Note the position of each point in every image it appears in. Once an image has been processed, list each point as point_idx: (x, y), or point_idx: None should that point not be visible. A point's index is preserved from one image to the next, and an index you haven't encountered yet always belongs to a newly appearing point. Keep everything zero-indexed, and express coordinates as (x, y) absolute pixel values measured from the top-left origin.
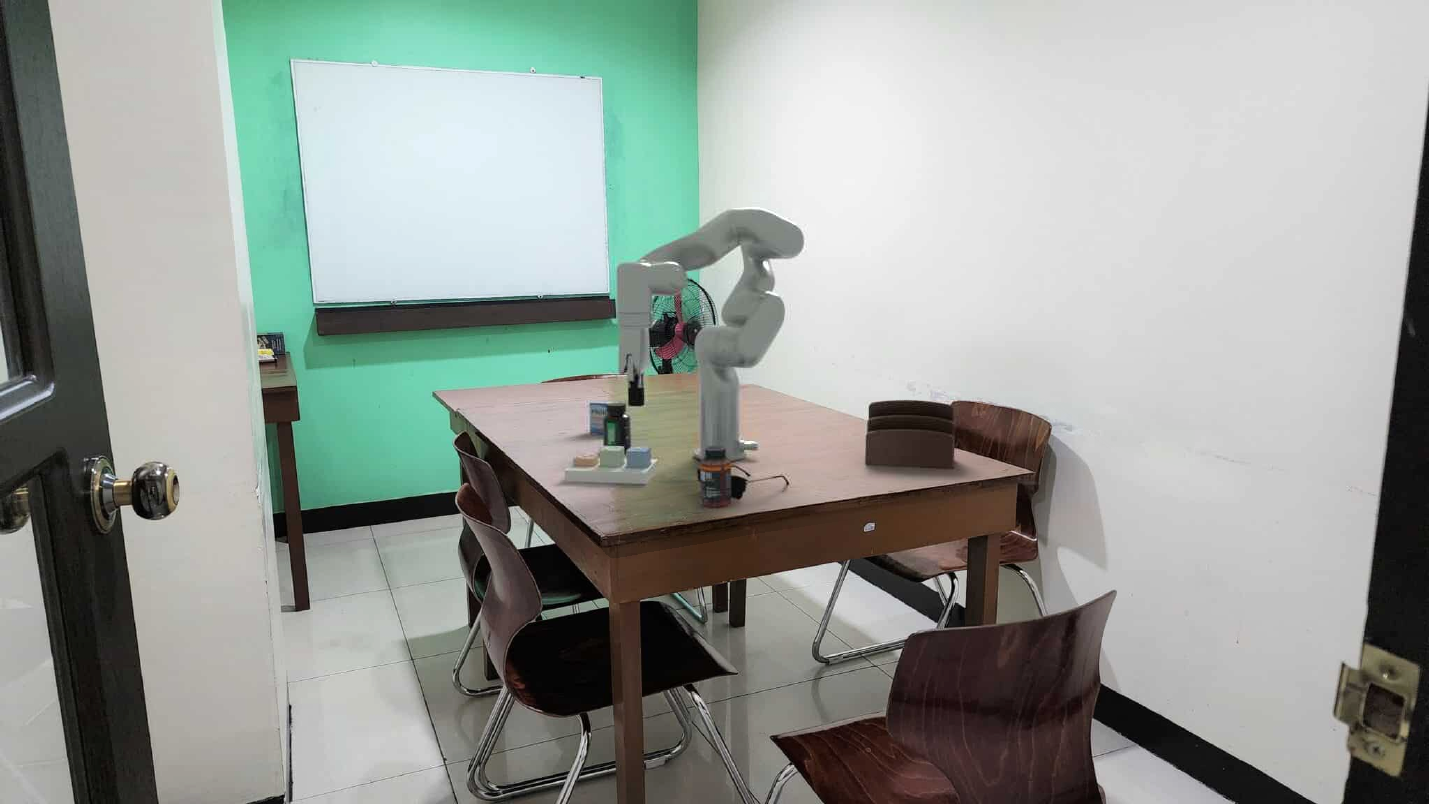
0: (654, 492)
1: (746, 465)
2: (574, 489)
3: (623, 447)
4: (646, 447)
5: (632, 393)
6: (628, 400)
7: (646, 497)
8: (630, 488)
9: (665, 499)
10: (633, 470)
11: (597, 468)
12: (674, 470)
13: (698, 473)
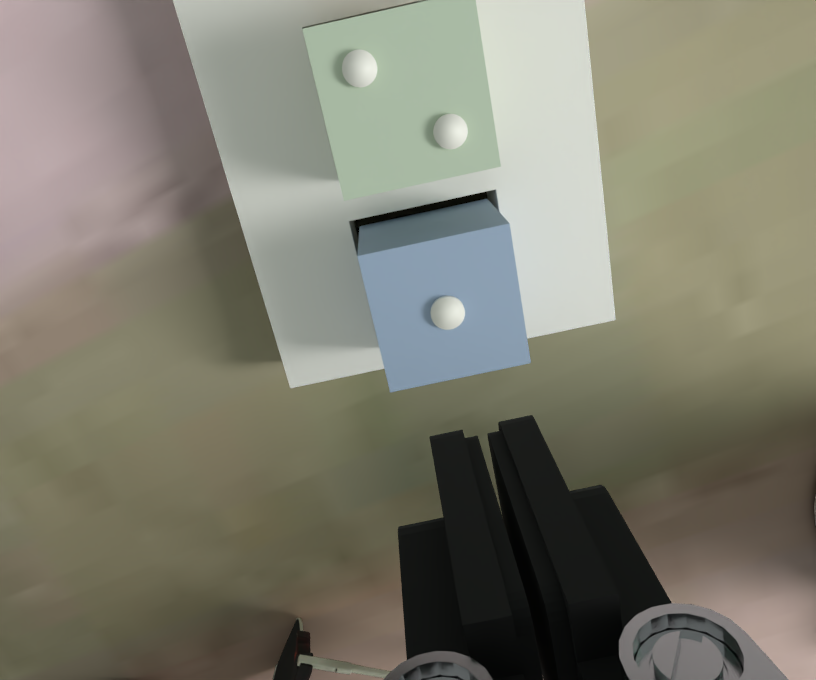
0: (175, 457)
1: (770, 631)
2: (10, 11)
3: (479, 170)
4: (511, 342)
5: (412, 636)
6: (437, 473)
7: (80, 459)
8: (188, 321)
9: (95, 542)
10: (308, 300)
11: (264, 42)
12: (611, 378)
13: (294, 661)
